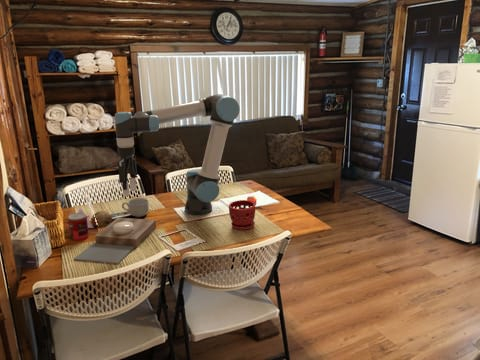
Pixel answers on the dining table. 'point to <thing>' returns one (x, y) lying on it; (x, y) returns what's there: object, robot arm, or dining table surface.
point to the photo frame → (184, 244)
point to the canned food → (78, 226)
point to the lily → (87, 218)
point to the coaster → (123, 227)
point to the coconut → (101, 218)
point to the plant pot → (242, 214)
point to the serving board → (130, 239)
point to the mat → (104, 253)
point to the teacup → (137, 207)
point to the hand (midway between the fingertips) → (130, 193)
